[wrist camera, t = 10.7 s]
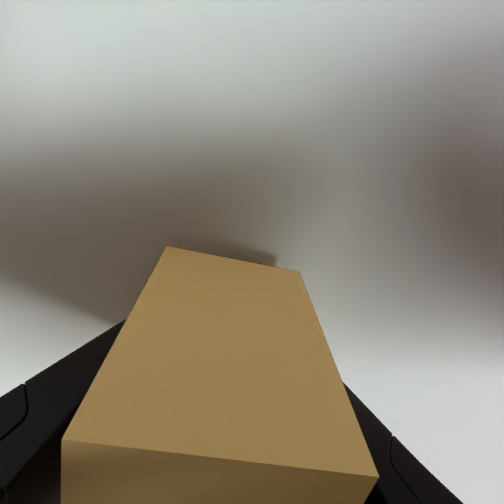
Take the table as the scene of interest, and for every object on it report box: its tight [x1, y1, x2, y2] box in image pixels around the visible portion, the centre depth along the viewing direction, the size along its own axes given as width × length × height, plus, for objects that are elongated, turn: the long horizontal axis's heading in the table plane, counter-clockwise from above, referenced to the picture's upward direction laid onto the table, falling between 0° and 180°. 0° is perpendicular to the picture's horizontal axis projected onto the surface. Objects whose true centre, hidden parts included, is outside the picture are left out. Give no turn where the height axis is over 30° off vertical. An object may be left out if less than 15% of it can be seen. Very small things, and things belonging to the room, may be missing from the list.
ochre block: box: [61, 246, 379, 504], centre depth 8 cm, size 4×4×6 cm
